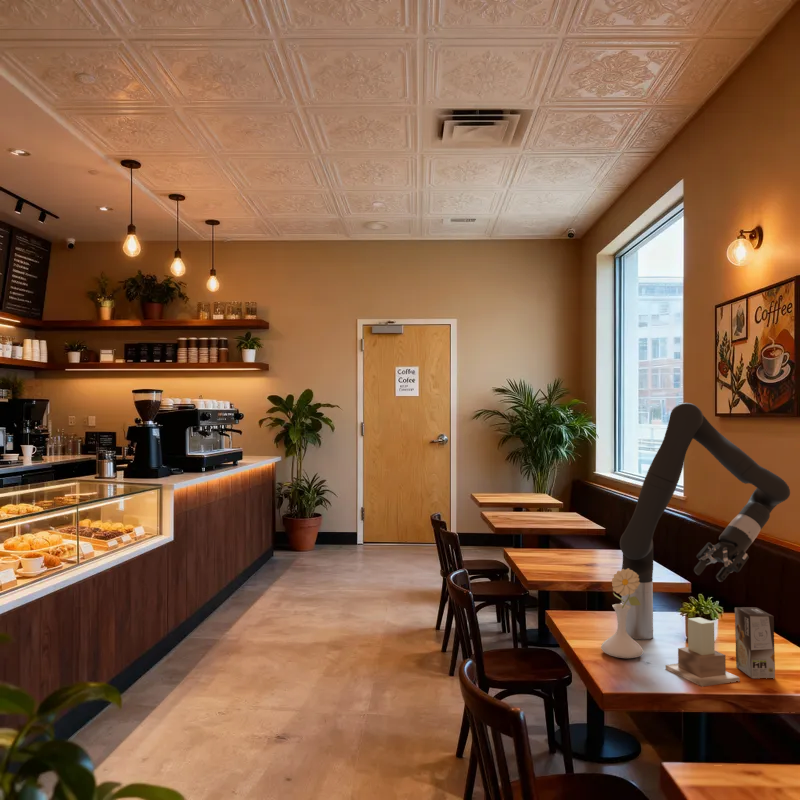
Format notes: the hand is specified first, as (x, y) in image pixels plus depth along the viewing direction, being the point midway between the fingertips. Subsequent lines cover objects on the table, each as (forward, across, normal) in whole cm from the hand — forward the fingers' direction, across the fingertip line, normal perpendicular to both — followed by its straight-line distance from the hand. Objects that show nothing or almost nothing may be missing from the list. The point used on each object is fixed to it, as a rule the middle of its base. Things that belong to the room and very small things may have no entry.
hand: (706, 576), depth 185 cm
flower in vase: (+31, -10, +3) cm, 33 cm away
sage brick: (+19, +8, +6) cm, 21 cm away
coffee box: (+12, +11, +20) cm, 26 cm away
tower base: (+23, +9, +10) cm, 26 cm away
